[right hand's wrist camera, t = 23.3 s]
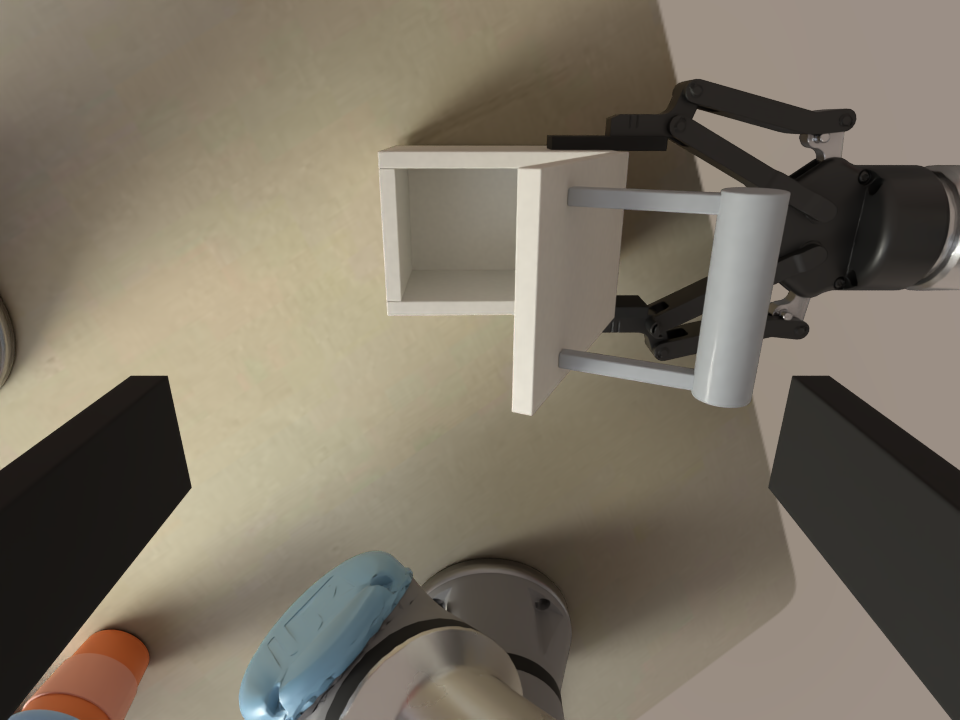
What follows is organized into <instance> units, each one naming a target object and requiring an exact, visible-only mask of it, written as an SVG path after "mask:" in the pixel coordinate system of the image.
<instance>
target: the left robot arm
mask: <svg viewBox="0 0 960 720" xmlns="http://www.w3.org/2000/svg"><path fill="white" fill-rule="evenodd" d="M672 95H673V97H672V99H671V101H670V103H669V106H668V107H667V109H666V110H665V111H664V112H662V113H660V114H619V115H613V116H611V117H609V118H607V119H606V132H605V136H572V135H547V149H550V150H613V151H666V149H667V141H668V139H669V140H671V141H672V142H674V143H676V144H677V145H679V146H681V147H682V148H684V149H686V150H687V151H689V152H691V153H692V154H694V155H696V156H697V157H699V158H701V159H702V160H704V161H706V162H707V163H709V164H711V165H712V166H714V167H716V168H717V169H719V170H721V171H722V172H724V173H726V174H727V175H729V176H731V177H733V178H734V179H736V180H738V181H739V182H741V183H743V184H744V185H745V186H746V187H750V188H770V189H780V190H786V191H789V192H790V199H789V204H788V210H787V215H786V220H785V225H784V231H783V236H782V241H781V246H780V252H779V257H778V262H777V267H776V273H775V278H774V283H773V285H774V284H777V283H780V284H781V285H782V286H783V287H784V288H786V289H787V290H788V291H789V293H788V295H787V296H786V297H785V298H784V299H782V300H779V301H774V302H770V304H769V309H768V315H767V320H766V325H765V330H764V336H763V339H764V338H769V337H778V338H788V339H802V338H804V337H805V336H806V335H807V334H808V332H809V326H808V324H807V323H805V322H804V321H803V319H804V316H805V313H806V310H807V307H808V304H809V301H810V298H812V297H815V296H817V295H819V294H821V293H824V292H827V291H830V290H901V289H907V290H960V165H934V166H926V167H922V166H918V165H853V164H851V163H849V162H848V161H847V160H845V159H843V158H841V156H842V148H843V139H844V132H845V131H848V130H850V129H851V128H852V127H853V126H854V124H855V122H856V114H855V112H854V111H853V110H851V109H827V110H815V111H810V110H807V109H803V108H800V107H796V106H792V105H789V104H786V103H782V102H779V101H775V100H772V99H768V98H765V97H761V96H758V95H754V94H750V93H747V92H744V91H740V90H737V89H733V88H730V87H726V86H722V85H719V84H716V83H712V82H709V81H705V80H701V79H694V80H689V81H684V82H681V83H678V84H677V85H676V86H675V88H674V89H673V94H672ZM697 109H699V110H703V111H707V112H710V113H714V114H717V115H721V116H724V117H728V118H732V119H735V120H739V121H742V122H746V123H749V124H753V125H757V126H760V127H764V128H767V129H771V130H774V131H778V132H782V133H790V134H800V136H799V139H800V142H801V144H802V145H803V146H804V147H807V148H811V149H813V150H814V151H815V153H816V159H814V160H812V161H811V162H809V163H808V164H806V165H805V166H803V167H802V168H800V169H799V170H797V171H796V172H794V173H793V174H791V175H790V176H787V175H786V174H784V173H782V172H779V171H777V170H775V169H773V168H771V167H770V166H768V165H766V164H765V163H763V162H761V161H760V160H758V159H756V158H755V157H753V156H751V155H750V154H748V153H747V152H745V151H743V150H742V149H740V148H738V147H737V146H735V145H733V144H732V143H730V142H729V141H727V140H725V139H724V138H722V137H720V136H719V135H717V134H715V133H714V132H712V131H710V130H709V129H707V128H706V127H704V126H702V125H701V124H699V123H697V122H696V121H694V120H692V118H693V116H694V114H695V112H696V110H697ZM707 281H708V277H706V278H704V279H701V280H699V281H697V282H695V283H693V284H691V285H689V286H687V287H685V288H683V289H680V290H678V291H676V292H674V293H672V294H670V295H668V296H666V297H664V298H662V299H660V300H657V301H655V302H653V303H651V304H649V305H646V303H645V302H644V301H643V300H642V299H641V298H640V297H639V296H638V295H616V304H615V315H614V318H613V320H612V321H611V322H610V323H609V324H608V326H607V327H606V328H605V329H604V330H603V332H639V333H643V334H644V337H645V344H646V345H647V347H648V348H649V349H650V351H651V352H652V353H653V355H654V356H655V357H656V358H657V359H658V360H660V361H665V360H670V359H674V358H679V357H683V356H688V355H692V354H697V349H698V342H699V335H700V328H701V322H702V320H701V321H697V322H692V323H688V324H684V325H681V324H683V323H685V322H687V321H689V320H691V319H693V318H696V317H698V316H700V315H702V314H703V308H704V301H705V295H706V288H707ZM678 325H679V326H678ZM412 574H413V572H412V571H411V570H410V569H409V568H406V567H404V566H403V565H402V564H401V563H400V562H399V561H398V560H396V559H395V558H394V557H393V556H392V555H390V554H389V553H386V552H382V551H370V552H365V553H362V554H359V555H357V556H354V557H352V558H350V559H348V560H346V561H345V562H343V563H341V564H340V565H339V566H337V567H335V568H334V569H332V570H331V571H329V572H328V573H327V574H325V575H324V576H323V577H322V578H320V579H319V580H318V581H317V582H316V583H314V584H313V585H312V586H311V587H310V588H309V589H308V590H307V591H305V592H304V593H303V594H302V595H301V596H300V597H299V598H298V599H297V600H296V601H295V602H294V603H293V604H292V605H291V606H290V608H289V609H288V610H287V611H286V612H285V613H284V614H283V615H282V617H281V618H280V619H279V620H278V621H277V623H276V624H275V625H274V626H273V628H272V629H271V630H270V632H269V633H268V634H267V636H266V637H265V638H264V640H263V641H262V643H261V644H260V646H259V648H258V650H257V651H256V653H255V654H254V656H253V658H252V660H251V661H250V663H249V665H248V667H247V670H246V672H245V674H244V677H243V680H242V683H241V687H240V692H239V706H240V710H241V713H242V716H243V717H244V719H245V720H564V714H563V708H562V701H561V693H560V691H561V687H562V682H563V677H564V673H565V668H566V663H567V659H568V654H569V649H570V645H571V639H572V629H571V622H570V617H569V611H568V607H567V604H566V601H565V599H564V597H563V595H562V593H561V592H560V590H559V589H558V588H557V586H556V585H555V584H554V583H553V582H552V581H551V580H550V579H549V578H547V577H546V576H545V575H543V574H542V573H540V572H539V571H537V570H535V569H533V568H531V567H529V566H527V565H524V564H521V563H518V562H514V561H510V560H504V559H490V558H489V559H475V560H469V561H465V562H461V563H458V564H455V565H452V566H450V567H448V568H446V569H444V570H442V571H440V572H438V573H437V574H435V575H434V576H433V577H431V578H430V579H429V580H428V581H427V582H426V583H425V584H424V585H423V586H422V587H420V585H419V584H418V583H417V582H416V581H415V580H414V578H413V575H412Z"/></svg>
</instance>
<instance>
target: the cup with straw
mask: <svg viewBox="0 0 960 720" xmlns="http://www.w3.org/2000/svg"><path fill="white" fill-rule="evenodd" d="M148 663H149V653H148V650H147V648H146V647H145V645H144V644H143V643H142V642H141V641H140V640H139V639H138V638H136V637H135V636H133V635H131V634H129V633H126V632H123V631H119V630H103V631H99V632H96V633H94V634H93V635H91V636H90V637H89V638H88V639H87V640H86V641H85V642H84V643H83V644H82V645H81V647H80V648H79V649H78V650H77V651H76V652H75V653H74V654H73V655H72V656H71V657H70V658H68V659H67V660H65V661H64V662H63V663H62V664H61V665H60V666H59V668H58V669H57V670H56V671H55V672H54V673H53V674H52V675H51V676H50V677H49V678H48V680H47V681H46V682H45V683H44V684H43V685H42V686H41V687H40V688H39V689H38V690H37V691H36V693H35V694H34V695H33V696H32V697H31V698H30V699H29V700H28V701H27V702H26V704H25V705H24V707H23V709H22V711H21V712H19V713H16V714H14V715H12V716H11V717H10V718H9V719H8V720H124V718H125V716H126V714H127V712H128V710H129V708H130V706H131V704H132V702H133V700H134V697H135V695H136V693H137V687H138V685H139V683H140V681H141V679H142V677H143V675H144V672H145V670H146V668H147V666H148Z"/></svg>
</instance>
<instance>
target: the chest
mask: <svg viewBox="0 0 960 720" xmlns="http://www.w3.org/2000/svg"><path fill="white" fill-rule="evenodd" d="M608 152H618V151H613V150H550V149H547V146H393V147H390V148H387V149H384V150H381V151H378V164H379V168H380V169H379V181H380V198H381V215H382V232H383V248H384V265H385V282H386V299H387V314H388V315H389V316H396V315H514V306H515V264H516V222H517V181H518V168H519V167H525V166H531V165H536V164H542V163H548V162H554V161H560V160H566V159H572V158H578V157H584V156H590V155H596V154H602V153H608Z"/></svg>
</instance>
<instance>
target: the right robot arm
mask: <svg viewBox="0 0 960 720" xmlns="http://www.w3.org/2000/svg"><path fill="white" fill-rule="evenodd" d="M14 356H15V338H14V332H13V327H12V323H11V320H10V317H9V314H8V312H7V309H6V307H5V305H4V303H3V301H2V299H1V298H0V388H1V387H2V386H3V384H4V383H5V381H6V380H7V378H8V376H9V374H10V372H11V369H12V366H13V362H14ZM191 488H192V487H191V482H190V478H189V473H188V468H187V464H186V459H185V454H184V450H183V445H182V440H181V436H180V431H179V427H178V422H177V417H176V413H175V408H174V403H173V399H172V394H171V389H170V385H169V380H168V376H130V377H129V378H127V379H126V380H124V381H123V382H122V383H120V384H119V385H118V386H116V387H115V388H113V389H112V390H111V391H109V392H108V393H106V394H105V395H104V396H102V397H101V398H100V399H98V400H97V401H95V402H94V403H93V404H91V405H90V406H89V407H87V408H86V409H84V410H83V411H82V412H80V413H79V414H77V415H76V416H75V417H73V418H72V419H71V420H69V421H68V422H66V423H65V424H64V425H62V426H61V427H60V428H58V429H57V430H55V431H54V432H53V433H51V434H50V435H48V436H47V437H46V438H44V439H43V440H42V441H40V442H39V443H37V444H36V445H35V446H33V447H32V448H31V449H29V450H28V451H26V452H25V453H24V454H22V455H21V456H19V457H18V458H17V459H15V460H14V461H13V462H11V463H10V464H8V465H7V466H6V467H4V468H3V469H2V470H0V720H8V719H9V718H10V717H11V715H12V714H13V713H14V712H15V710H16V709H17V708H18V706H19V705H20V704H21V703H22V701H23V700H24V699H25V698H26V696H27V695H28V694H29V693H30V691H31V690H32V689H33V688H34V686H35V685H36V684H37V682H38V681H39V680H40V679H41V677H42V676H43V675H44V674H45V672H46V671H47V670H48V669H49V667H50V666H51V665H52V663H53V662H54V661H55V660H56V658H57V657H58V656H59V655H60V653H61V652H62V651H63V650H64V648H65V647H66V646H67V645H68V643H69V642H70V641H71V639H72V638H73V637H74V636H75V634H76V633H77V632H78V631H79V629H80V628H81V627H82V626H83V624H84V623H85V622H86V621H87V619H88V618H89V617H90V615H91V614H92V613H93V612H94V610H95V609H96V608H97V607H98V605H99V604H100V603H101V602H102V600H103V599H104V598H105V596H106V595H107V594H108V593H109V591H110V590H111V589H112V588H113V586H114V585H115V584H116V583H117V581H118V580H119V579H120V578H121V576H122V575H123V574H124V572H125V571H126V570H127V569H128V567H129V566H130V565H131V564H132V562H133V561H134V560H135V559H136V557H137V556H138V555H139V553H140V552H141V551H142V550H143V548H144V547H145V546H146V545H147V543H148V542H149V541H150V540H151V538H152V537H153V536H154V535H155V533H156V532H157V531H158V529H159V528H160V527H161V526H162V524H163V523H164V522H165V521H166V519H167V518H168V517H169V516H170V514H171V513H172V512H173V511H174V509H175V508H176V507H177V505H178V504H179V503H180V502H181V500H182V499H183V498H184V497H185V495H186V494H187V493H188V492H189V490H190V489H191ZM768 488H769V489H770V490H771V492H772V493H773V494H774V495H775V497H776V498H777V499H778V500H779V502H780V503H781V504H782V505H783V507H784V508H785V509H786V511H787V512H788V513H789V514H790V516H791V517H792V518H793V519H794V521H795V522H796V523H797V524H798V526H799V527H800V528H801V529H802V531H803V532H804V533H805V534H806V536H807V537H808V538H809V540H810V541H811V542H812V543H813V545H814V546H815V547H816V548H817V550H818V551H819V552H820V553H821V555H822V556H823V557H824V559H825V560H826V561H827V562H828V564H829V565H830V566H831V567H832V569H833V570H834V571H835V572H836V574H837V575H838V576H839V578H840V579H841V580H842V581H843V583H844V584H845V585H846V586H847V588H848V589H849V590H850V591H851V593H852V594H853V595H854V596H855V598H856V599H857V600H858V602H859V603H860V604H861V605H862V607H863V608H864V609H865V610H866V612H867V613H868V614H869V615H870V617H871V618H872V619H873V621H874V622H875V623H876V624H877V625H878V627H879V628H880V629H881V631H882V632H883V633H884V634H885V636H886V637H887V638H888V639H889V641H890V642H891V643H892V645H893V646H894V647H895V648H896V650H897V651H898V652H899V653H900V655H901V656H902V657H903V658H904V660H905V661H906V662H907V664H908V665H909V666H910V667H911V669H912V670H913V671H914V672H915V674H916V675H917V676H918V677H919V679H920V680H921V681H922V682H923V684H924V685H925V686H926V687H927V689H928V690H929V691H930V693H931V694H932V695H933V696H934V698H935V699H936V700H937V701H938V703H939V704H940V705H941V706H942V708H943V709H944V710H945V712H946V713H947V714H948V715H949V717H950V718H951V719H952V720H960V470H958V469H957V468H956V467H954V466H953V465H952V464H950V463H949V462H947V461H946V460H945V459H943V458H942V457H940V456H939V455H938V454H936V453H935V452H934V451H932V450H931V449H929V448H928V447H927V446H925V445H924V444H923V443H921V442H920V441H918V440H917V439H916V438H914V437H913V436H911V435H910V434H909V433H907V432H906V431H905V430H903V429H902V428H900V427H899V426H898V425H896V424H895V423H894V422H892V421H891V420H889V419H888V418H887V417H885V416H884V415H882V414H881V413H880V412H878V411H877V410H876V409H874V408H873V407H871V406H870V405H869V404H867V403H866V402H865V401H863V400H862V399H860V398H859V397H858V396H856V395H855V394H854V393H852V392H851V391H849V390H848V389H847V388H845V387H844V386H842V385H841V384H840V383H838V382H837V381H836V380H834V379H833V378H831V377H830V376H792V380H791V385H790V389H789V394H788V399H787V404H786V408H785V413H784V418H783V422H782V427H781V431H780V436H779V441H778V445H777V450H776V454H775V459H774V464H773V468H772V473H771V478H770V482H769V487H768Z"/></svg>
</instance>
